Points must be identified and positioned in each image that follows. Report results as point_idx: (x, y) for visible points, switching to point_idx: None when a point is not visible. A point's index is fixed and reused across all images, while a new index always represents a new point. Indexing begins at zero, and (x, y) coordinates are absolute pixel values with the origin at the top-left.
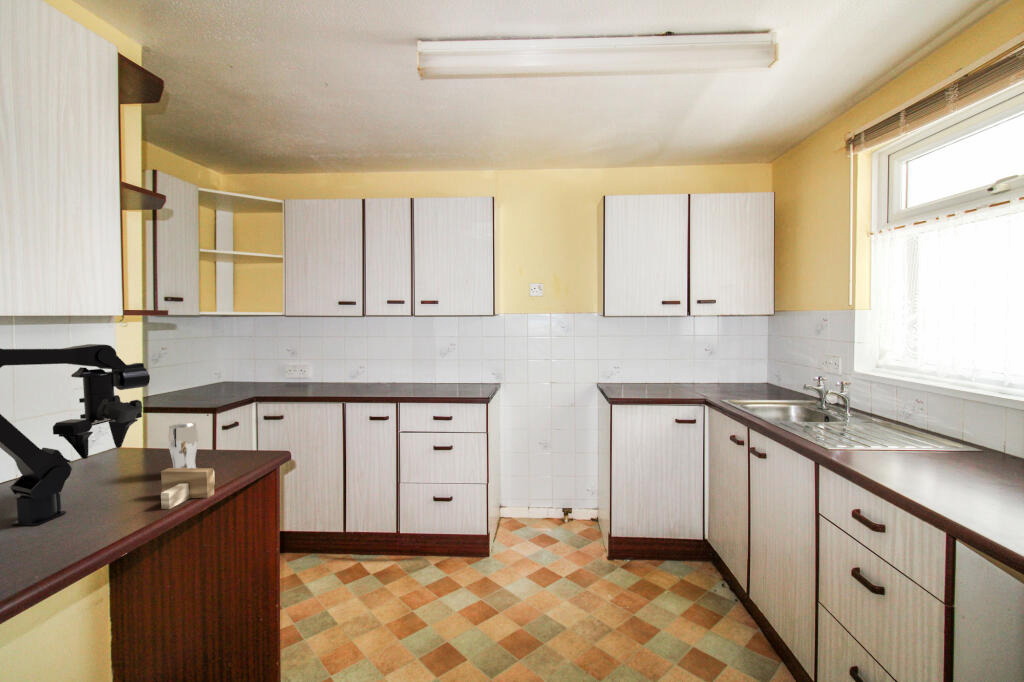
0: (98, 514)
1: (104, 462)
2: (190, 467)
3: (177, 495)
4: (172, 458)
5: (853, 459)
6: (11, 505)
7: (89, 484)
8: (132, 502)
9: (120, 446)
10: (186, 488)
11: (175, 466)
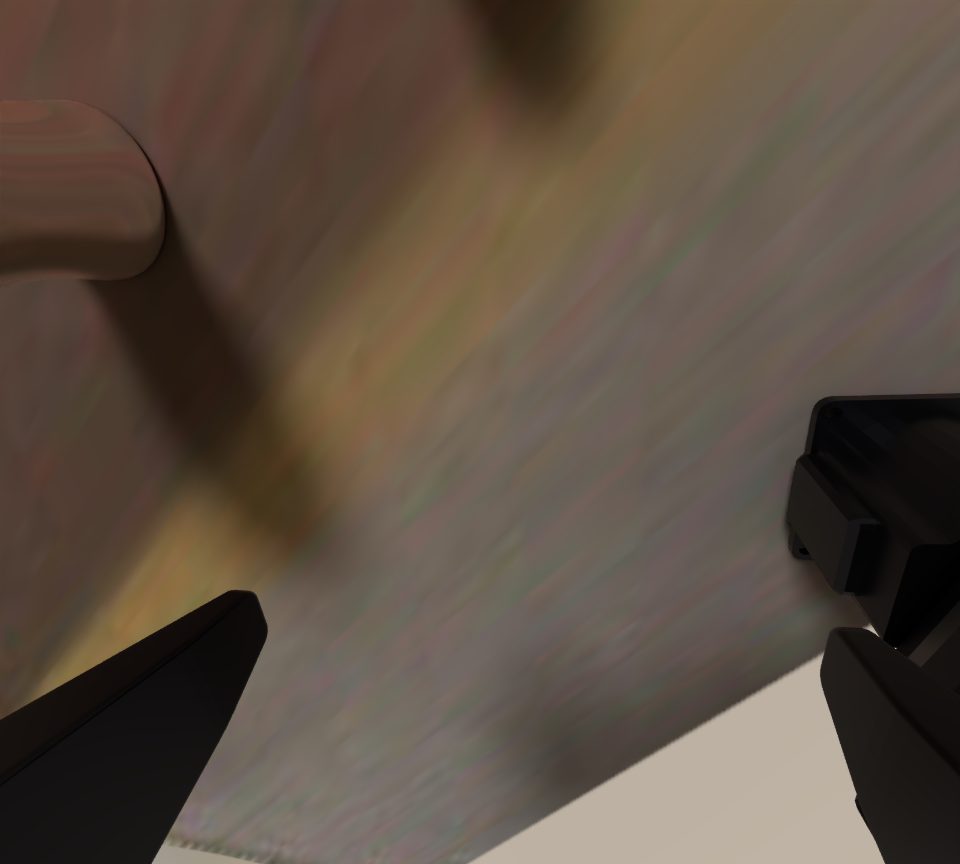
0: (877, 121)
1: None
2: (9, 100)
3: None
4: (3, 243)
5: None
6: (657, 742)
7: (380, 633)
8: (621, 69)
9: (236, 597)
10: None
11: (70, 208)
